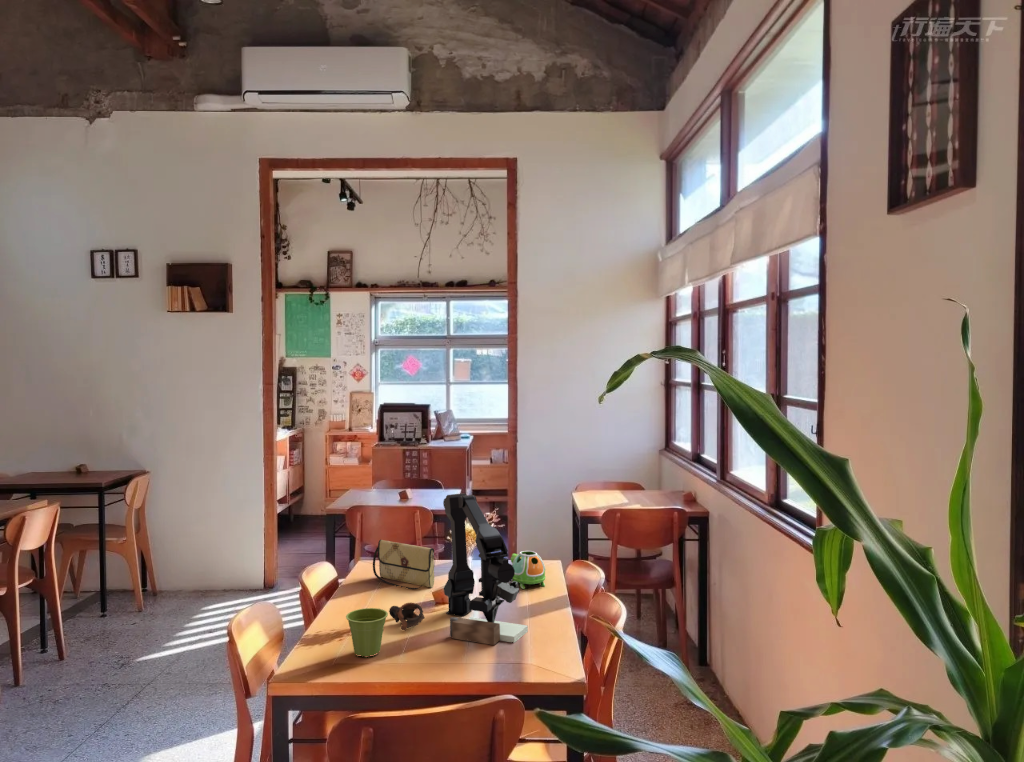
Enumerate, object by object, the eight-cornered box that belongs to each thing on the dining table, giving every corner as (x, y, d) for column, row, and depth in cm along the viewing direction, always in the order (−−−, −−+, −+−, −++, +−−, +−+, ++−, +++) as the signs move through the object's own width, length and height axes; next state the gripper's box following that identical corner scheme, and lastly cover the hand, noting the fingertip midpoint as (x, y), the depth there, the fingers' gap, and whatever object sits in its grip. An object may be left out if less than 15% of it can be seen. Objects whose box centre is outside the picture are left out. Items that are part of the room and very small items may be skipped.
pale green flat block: (455, 633, 226) (455, 627, 225) (470, 622, 235) (470, 617, 235) (514, 642, 217) (514, 636, 217) (527, 631, 226) (527, 625, 226)
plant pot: (368, 664, 203) (368, 624, 203) (338, 656, 209) (337, 617, 209) (397, 650, 213) (396, 611, 213) (366, 642, 219) (366, 605, 219)
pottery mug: (427, 621, 238) (429, 604, 234) (416, 644, 230) (418, 626, 226) (393, 610, 240) (394, 593, 236) (381, 632, 232) (382, 614, 228)
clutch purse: (368, 580, 283) (367, 542, 282) (381, 576, 288) (380, 538, 288) (427, 593, 266) (426, 552, 266) (439, 588, 272) (438, 548, 271)
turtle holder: (527, 574, 287) (527, 544, 287) (552, 586, 271) (551, 554, 271) (499, 579, 281) (499, 548, 281) (523, 592, 265) (522, 559, 265)
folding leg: (447, 637, 222) (447, 620, 221) (453, 633, 225) (453, 615, 225) (494, 645, 215) (493, 627, 215) (500, 640, 219) (499, 622, 218)
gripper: (501, 585, 211) (502, 639, 212) (526, 569, 228) (527, 618, 229) (467, 581, 216) (468, 634, 216) (494, 565, 233) (495, 614, 233)
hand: (491, 625), depth 223 cm, fingers closed
